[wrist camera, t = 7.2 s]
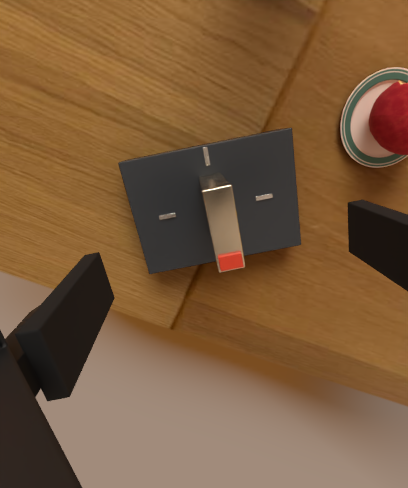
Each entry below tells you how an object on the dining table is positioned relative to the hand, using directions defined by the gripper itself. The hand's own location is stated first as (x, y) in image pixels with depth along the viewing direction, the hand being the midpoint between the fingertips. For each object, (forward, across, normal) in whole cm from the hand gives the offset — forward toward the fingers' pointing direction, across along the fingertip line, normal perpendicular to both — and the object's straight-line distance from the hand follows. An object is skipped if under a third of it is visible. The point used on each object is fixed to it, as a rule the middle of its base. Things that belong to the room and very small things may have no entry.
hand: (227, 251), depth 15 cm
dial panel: (+13, 0, 0) cm, 13 cm away
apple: (+13, +16, +4) cm, 21 cm away
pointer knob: (+10, 0, 0) cm, 10 cm away
